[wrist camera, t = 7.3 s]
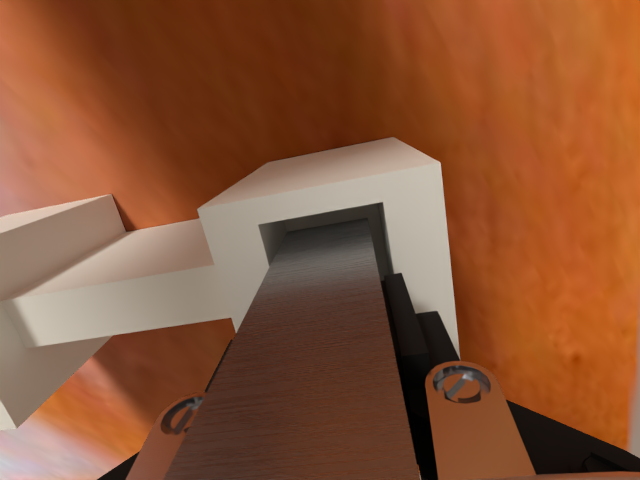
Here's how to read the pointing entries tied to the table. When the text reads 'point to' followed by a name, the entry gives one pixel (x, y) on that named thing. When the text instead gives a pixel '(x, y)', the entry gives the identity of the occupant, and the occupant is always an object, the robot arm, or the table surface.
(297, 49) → the table surface
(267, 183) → the double socket connector
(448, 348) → the robot arm
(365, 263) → the gray rectangular block
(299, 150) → the table surface
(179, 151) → the table surface
